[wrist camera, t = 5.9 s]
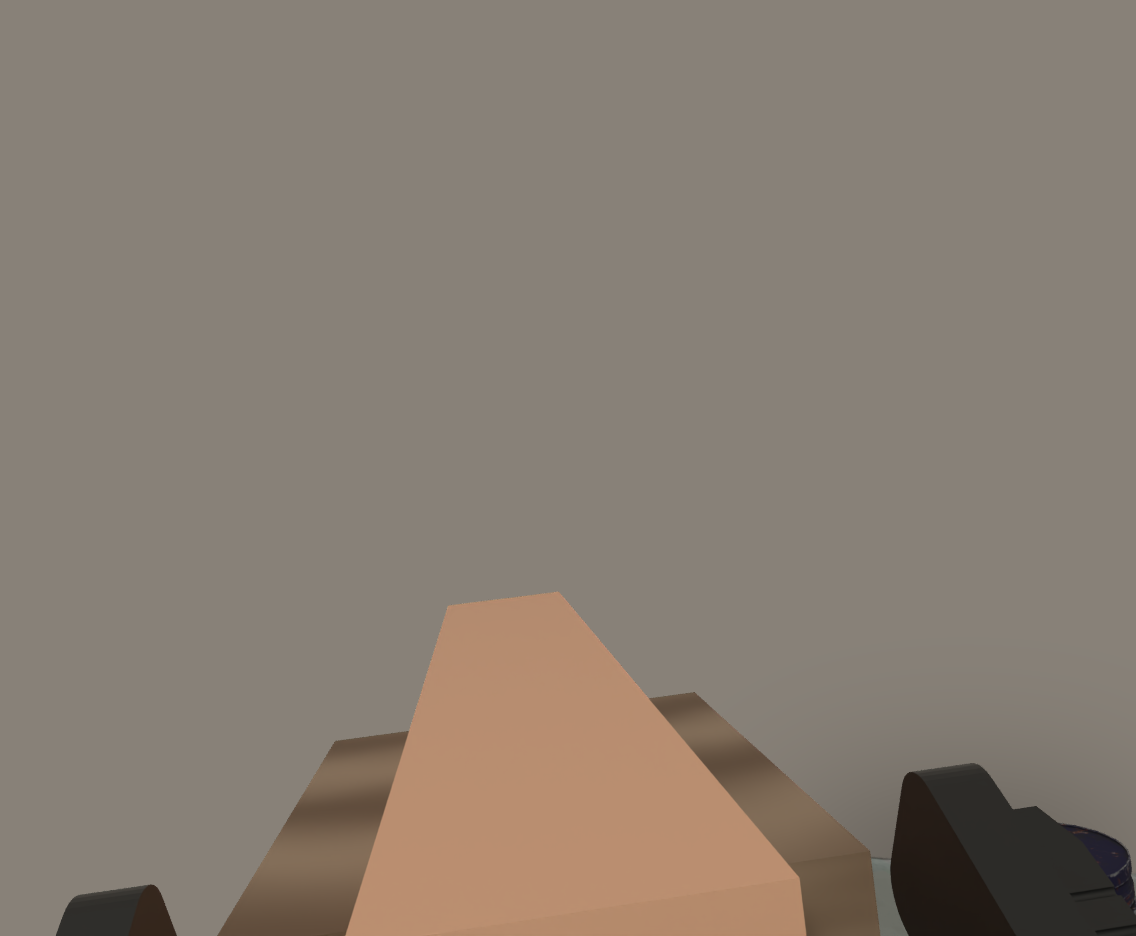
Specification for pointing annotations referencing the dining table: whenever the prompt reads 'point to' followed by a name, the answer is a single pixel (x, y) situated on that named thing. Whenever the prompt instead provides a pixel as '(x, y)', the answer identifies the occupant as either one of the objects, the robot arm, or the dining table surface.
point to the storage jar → (1109, 860)
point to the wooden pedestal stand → (364, 780)
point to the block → (558, 801)
